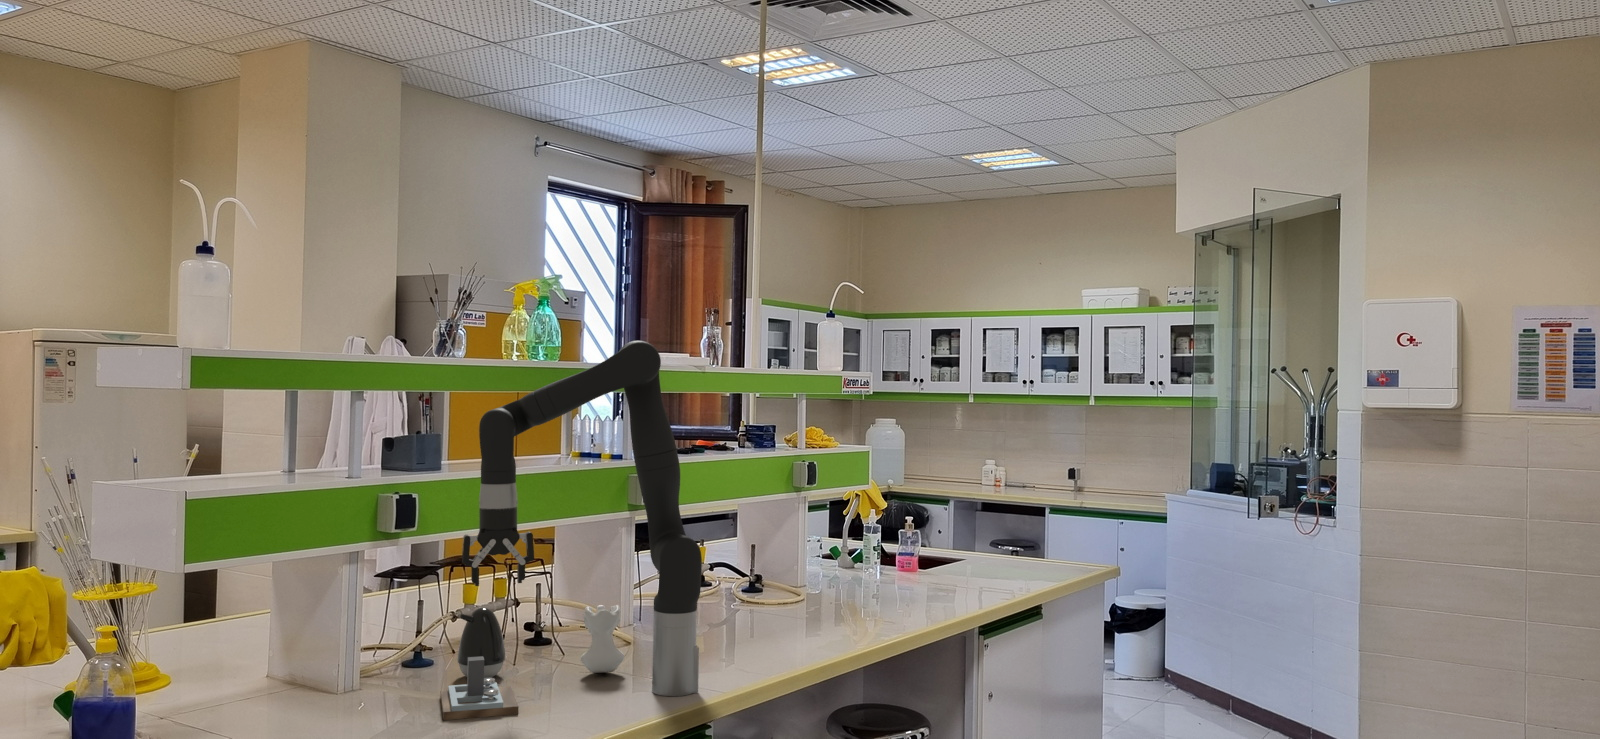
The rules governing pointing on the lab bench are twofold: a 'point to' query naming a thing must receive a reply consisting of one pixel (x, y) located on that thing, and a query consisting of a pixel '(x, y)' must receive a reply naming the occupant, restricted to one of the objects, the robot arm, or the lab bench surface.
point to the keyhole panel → (472, 706)
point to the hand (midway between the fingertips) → (498, 584)
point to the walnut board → (506, 694)
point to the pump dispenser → (482, 642)
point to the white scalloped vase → (602, 639)
